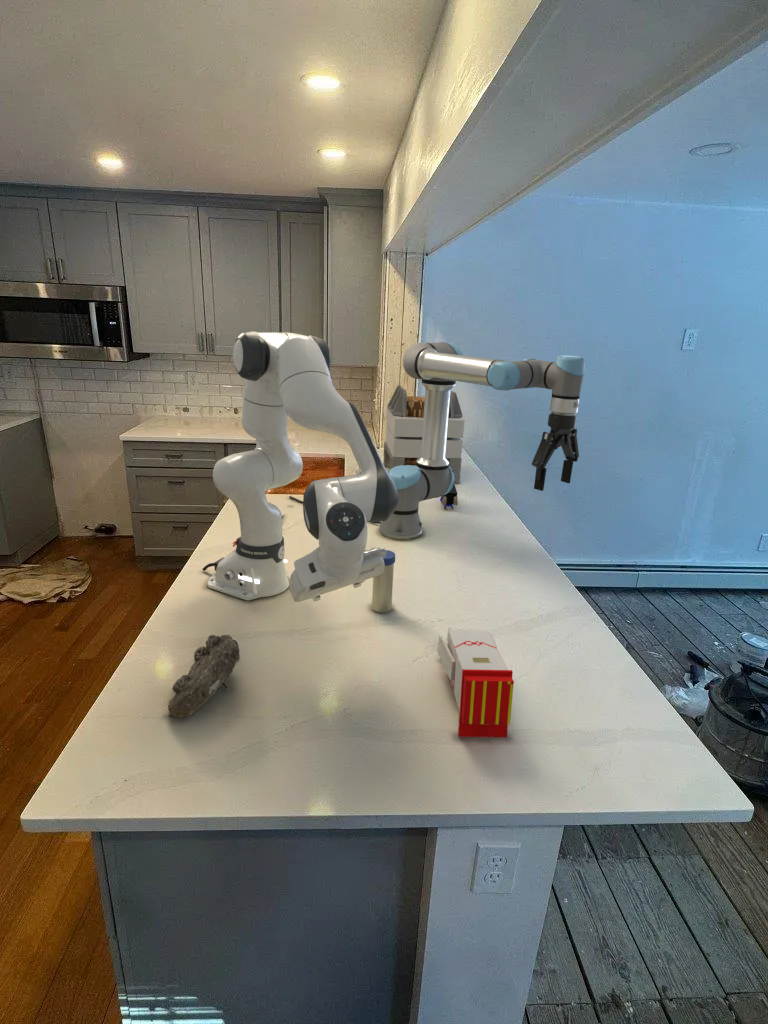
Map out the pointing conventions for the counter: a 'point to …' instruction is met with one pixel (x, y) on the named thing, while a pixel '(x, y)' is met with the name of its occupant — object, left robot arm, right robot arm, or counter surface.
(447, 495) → the figurine character
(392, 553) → the lid
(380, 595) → the jar
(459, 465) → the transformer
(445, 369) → the right robot arm
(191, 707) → the fossil
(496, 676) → the toy
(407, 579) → the counter surface
